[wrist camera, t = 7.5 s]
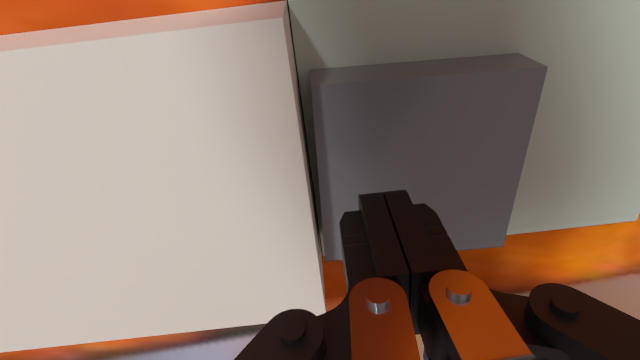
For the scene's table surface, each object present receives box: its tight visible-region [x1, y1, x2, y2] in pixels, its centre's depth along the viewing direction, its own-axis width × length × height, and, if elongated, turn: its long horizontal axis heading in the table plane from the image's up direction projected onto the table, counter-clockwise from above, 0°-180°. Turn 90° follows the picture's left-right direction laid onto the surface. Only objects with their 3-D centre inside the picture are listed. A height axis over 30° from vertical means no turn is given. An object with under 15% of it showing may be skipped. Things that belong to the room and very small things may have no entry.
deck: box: [0, 0, 326, 353], centre depth 15 cm, size 16×12×4 cm
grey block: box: [310, 53, 548, 261], centre depth 16 cm, size 8×8×2 cm
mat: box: [288, 0, 640, 256], centre depth 16 cm, size 16×12×1 cm
